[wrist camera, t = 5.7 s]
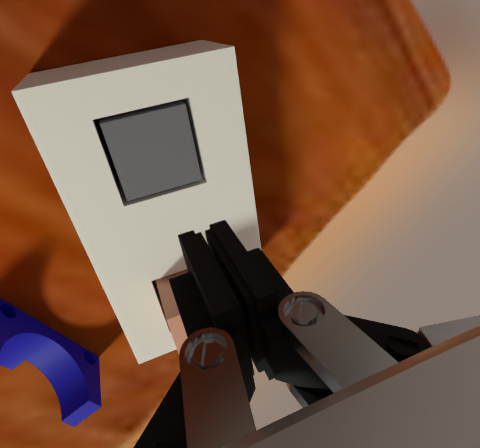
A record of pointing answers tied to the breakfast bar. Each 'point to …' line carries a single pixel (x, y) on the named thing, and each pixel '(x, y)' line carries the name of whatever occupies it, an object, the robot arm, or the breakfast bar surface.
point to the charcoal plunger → (152, 148)
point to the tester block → (154, 205)
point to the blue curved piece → (52, 361)
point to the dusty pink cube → (172, 309)
